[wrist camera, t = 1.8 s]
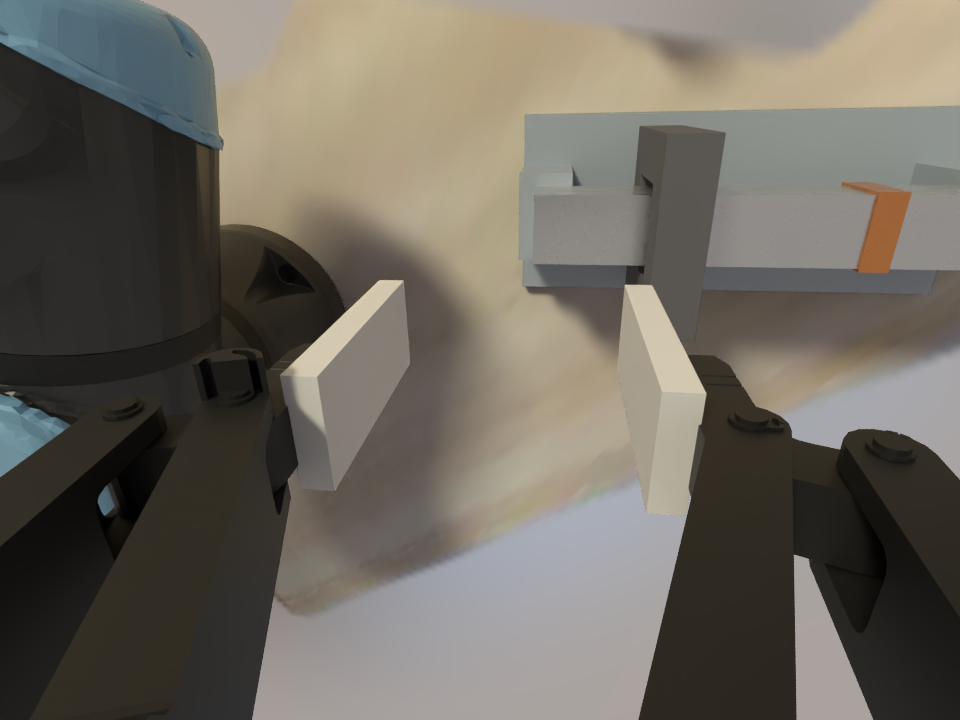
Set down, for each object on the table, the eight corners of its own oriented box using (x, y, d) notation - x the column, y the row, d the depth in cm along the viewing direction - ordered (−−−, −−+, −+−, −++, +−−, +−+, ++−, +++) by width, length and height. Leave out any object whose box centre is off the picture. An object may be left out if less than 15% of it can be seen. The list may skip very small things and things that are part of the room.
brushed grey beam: (535, 250, 34) (532, 267, 30) (537, 183, 32) (533, 192, 28) (975, 255, 30) (1029, 275, 27) (1001, 181, 29) (1063, 191, 25)
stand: (523, 282, 40) (518, 306, 35) (525, 114, 35) (520, 115, 30) (921, 290, 36) (975, 318, 32) (981, 105, 32) (1054, 105, 27)
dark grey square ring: (625, 284, 37) (644, 339, 28) (639, 125, 33) (667, 133, 24) (662, 284, 36) (694, 341, 28) (682, 125, 32) (726, 132, 24)
